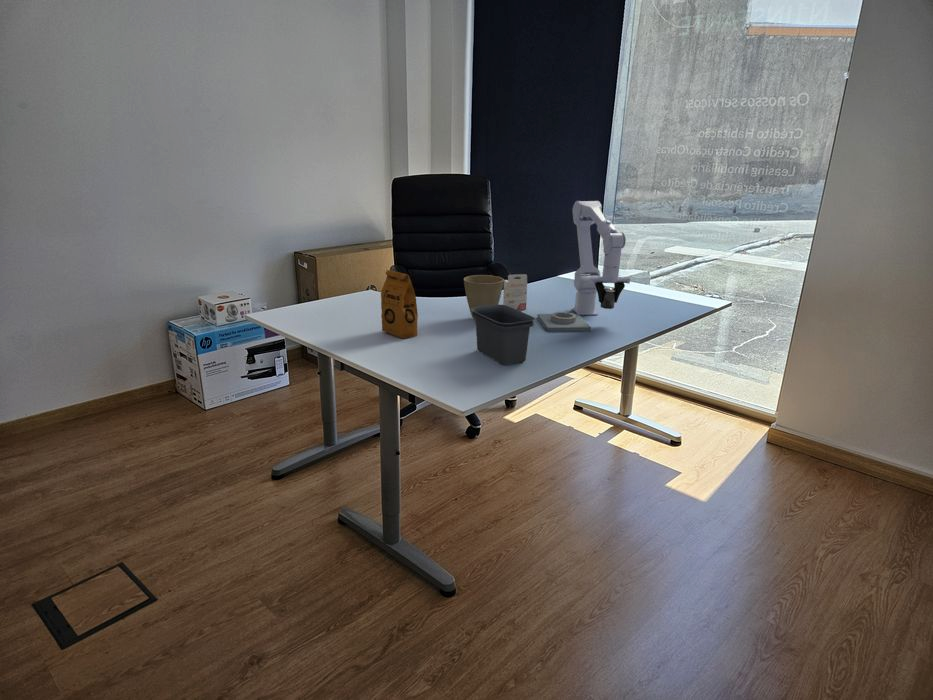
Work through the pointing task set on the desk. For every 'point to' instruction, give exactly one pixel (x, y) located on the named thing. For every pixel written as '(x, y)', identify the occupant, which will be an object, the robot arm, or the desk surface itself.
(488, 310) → the storage bin
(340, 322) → the desk surface
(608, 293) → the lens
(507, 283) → the ink cartridge box
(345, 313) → the desk surface
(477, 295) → the plant pot
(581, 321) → the mount plate
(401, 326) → the coffee package
